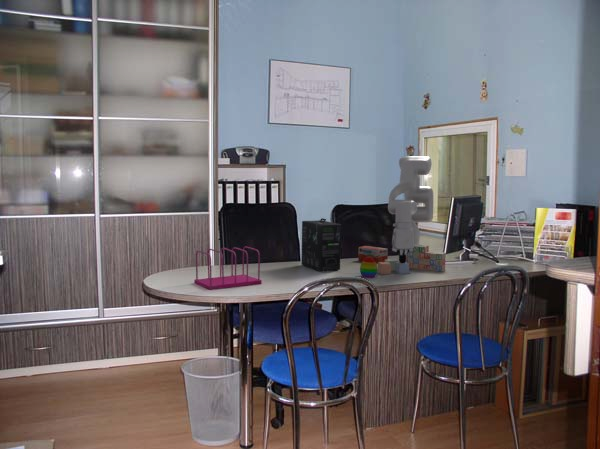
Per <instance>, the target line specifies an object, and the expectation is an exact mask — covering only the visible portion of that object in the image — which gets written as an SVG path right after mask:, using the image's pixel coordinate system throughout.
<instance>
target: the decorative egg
mask: <svg viewBox="0 0 600 449" xmlns="http://www.w3.org/2000/svg"><path fill="white" fill-rule="evenodd" d="M377 269H378V263H376V262H375V260H374V259H373V258H372V257H366V258H365V259H364V260H363V261H361V263H360V267H359V271H360V272H359V273H360V275H361V277H362V278H366V279H367V278H368V279H373V278H375V277H376V276H377V275H378V274H377Z"/></svg>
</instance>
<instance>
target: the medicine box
mask: <svg viewBox="0 0 600 449" xmlns="http://www.w3.org/2000/svg"><path fill="white" fill-rule="evenodd" d="M388 251H389V250H388V248H383V247H378V246H377V247H376V246H369V245H363V246H359V247H358V256H357V257H358V258H357V259H358V261H360V262H362V261H363V260H364V259H365V258H366V257H372V258H373V259H374V260H375V262H376V264H378V262H385V260H386V259H388V258H389V256H388V255H389V252H388Z"/></svg>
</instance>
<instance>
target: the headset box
mask: <svg viewBox="0 0 600 449" xmlns="http://www.w3.org/2000/svg"><path fill="white" fill-rule="evenodd" d="M326 220H327V218H323V217H321V218H320V219H319V220H302V221H301V263H300V264H301V265H302V266H305V267H308V268H310V269H313V270H316V271H318V272H320V273H321V272H332V271H333V272H335V271H339V270H341V241H342V240H341V238H342V237H341V236H342V224H341V223H337V222H336V223H335V222H332V221H326Z"/></svg>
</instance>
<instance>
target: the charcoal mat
mask: <svg viewBox="0 0 600 449" xmlns="http://www.w3.org/2000/svg"><path fill="white" fill-rule="evenodd" d="M410 274H411V272H409V273H408V274H407V275H410ZM376 275H379V276H385V275H386V276H388V275H400V274H399V273H396V272H395V271H391V274H380V273H378V268H377V274H376Z"/></svg>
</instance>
